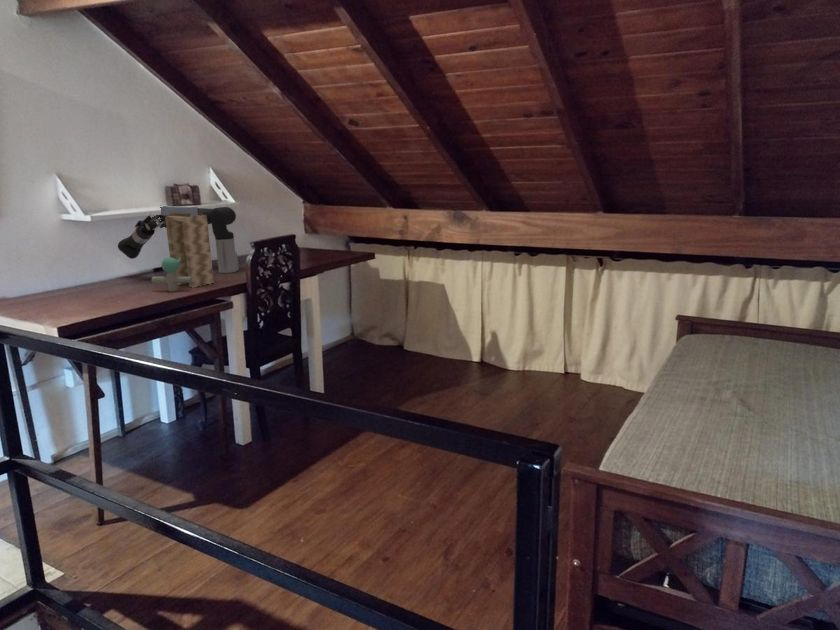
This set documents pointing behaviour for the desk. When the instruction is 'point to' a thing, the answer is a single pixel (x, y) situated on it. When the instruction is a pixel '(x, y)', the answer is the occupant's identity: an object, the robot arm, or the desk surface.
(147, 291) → the desk surface
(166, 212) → the bar
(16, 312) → the desk surface
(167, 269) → the toy
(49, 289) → the desk surface
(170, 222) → the zigzag patterned block
